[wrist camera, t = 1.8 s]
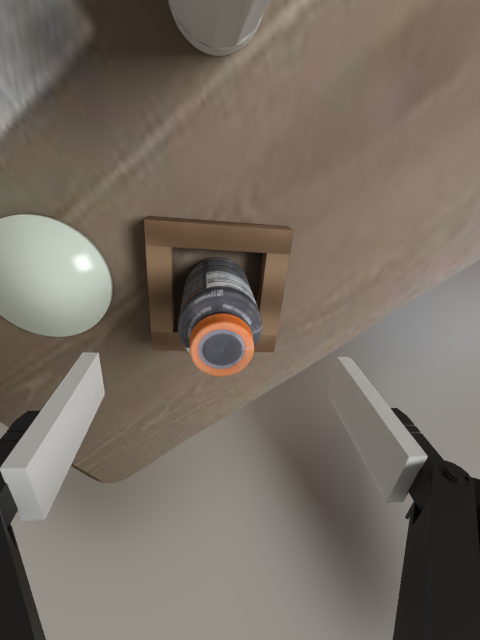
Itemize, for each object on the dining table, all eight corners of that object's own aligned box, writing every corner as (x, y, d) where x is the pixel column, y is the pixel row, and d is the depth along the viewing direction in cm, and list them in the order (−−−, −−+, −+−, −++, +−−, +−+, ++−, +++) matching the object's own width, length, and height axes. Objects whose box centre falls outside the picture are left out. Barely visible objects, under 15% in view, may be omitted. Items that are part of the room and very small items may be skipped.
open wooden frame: (148, 215, 24) (143, 219, 22) (287, 226, 25) (293, 230, 24) (155, 339, 29) (152, 349, 28) (270, 341, 31) (273, 352, 29)
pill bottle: (206, 324, 29) (204, 404, 19) (172, 276, 27) (151, 339, 17) (258, 296, 28) (285, 365, 18) (229, 244, 26) (241, 289, 16)
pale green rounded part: (-43, 208, 22) (-51, 209, 22) (105, 219, 24) (102, 220, 23) (-2, 331, 27) (-7, 335, 27) (119, 334, 29) (116, 338, 28)
